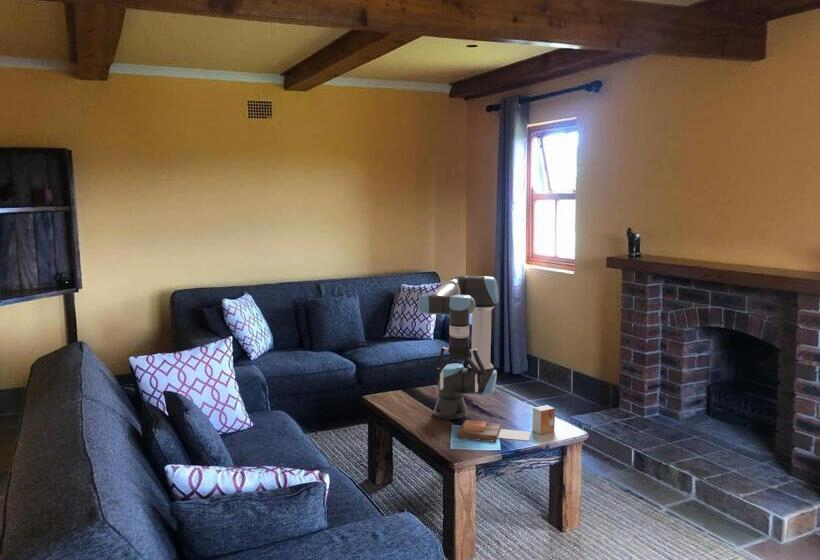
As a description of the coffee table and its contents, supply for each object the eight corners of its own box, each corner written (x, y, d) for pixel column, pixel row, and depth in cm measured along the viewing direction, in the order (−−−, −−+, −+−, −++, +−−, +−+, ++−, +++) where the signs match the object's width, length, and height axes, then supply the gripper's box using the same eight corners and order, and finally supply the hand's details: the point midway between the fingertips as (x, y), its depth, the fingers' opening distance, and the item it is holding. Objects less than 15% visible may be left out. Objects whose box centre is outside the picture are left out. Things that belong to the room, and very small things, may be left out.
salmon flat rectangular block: (463, 429, 281) (463, 424, 281) (466, 424, 287) (466, 419, 287) (484, 431, 279) (484, 426, 279) (486, 426, 285) (486, 421, 285)
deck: (464, 426, 292) (464, 420, 291) (500, 429, 288) (500, 424, 287) (458, 437, 278) (458, 432, 278) (496, 441, 274) (496, 435, 274)
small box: (540, 435, 281) (540, 411, 280) (531, 430, 286) (532, 407, 285) (554, 431, 285) (555, 408, 284) (546, 427, 290) (546, 404, 289)
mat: (500, 429, 288) (500, 429, 288) (530, 432, 284) (530, 431, 284) (497, 438, 278) (497, 437, 278) (528, 441, 275) (528, 440, 275)
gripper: (425, 336, 251) (425, 390, 254) (490, 340, 245) (489, 395, 248) (429, 332, 259) (429, 384, 262) (493, 335, 252) (492, 389, 255)
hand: (458, 389), depth 255 cm, fingers open, 13 cm apart
